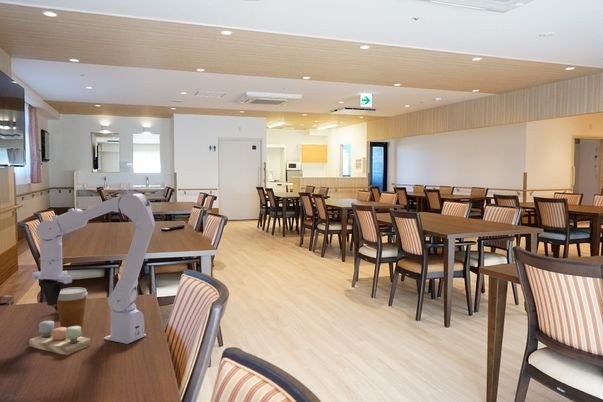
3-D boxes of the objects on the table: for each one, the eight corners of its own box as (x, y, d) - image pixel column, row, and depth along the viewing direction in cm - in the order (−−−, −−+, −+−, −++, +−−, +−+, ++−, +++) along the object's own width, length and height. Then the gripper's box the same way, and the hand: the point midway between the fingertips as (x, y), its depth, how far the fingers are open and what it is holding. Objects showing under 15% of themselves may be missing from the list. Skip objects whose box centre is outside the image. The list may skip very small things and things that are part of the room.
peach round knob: (70, 342, 131) (70, 328, 131) (58, 347, 128) (58, 332, 127) (61, 340, 133) (61, 326, 132) (49, 345, 129) (49, 330, 129)
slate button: (57, 336, 133) (57, 321, 133) (45, 340, 130) (45, 325, 130) (48, 334, 135) (48, 320, 135) (36, 338, 131) (36, 323, 131)
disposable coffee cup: (63, 334, 140) (63, 295, 139) (49, 327, 146) (49, 290, 145) (93, 326, 147) (93, 290, 147) (79, 320, 153) (78, 285, 153)
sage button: (84, 341, 129) (84, 327, 129) (72, 346, 125) (72, 331, 125) (74, 339, 130) (74, 325, 130) (63, 344, 127) (62, 329, 127)
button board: (90, 345, 131) (90, 338, 131) (66, 355, 124) (66, 347, 123) (54, 337, 137) (54, 331, 137) (29, 346, 130) (29, 339, 129)
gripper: (22, 259, 134) (23, 304, 134) (56, 264, 128) (57, 311, 129) (44, 256, 140) (44, 299, 141) (77, 260, 134) (78, 305, 135)
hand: (52, 304), depth 135 cm, fingers closed
